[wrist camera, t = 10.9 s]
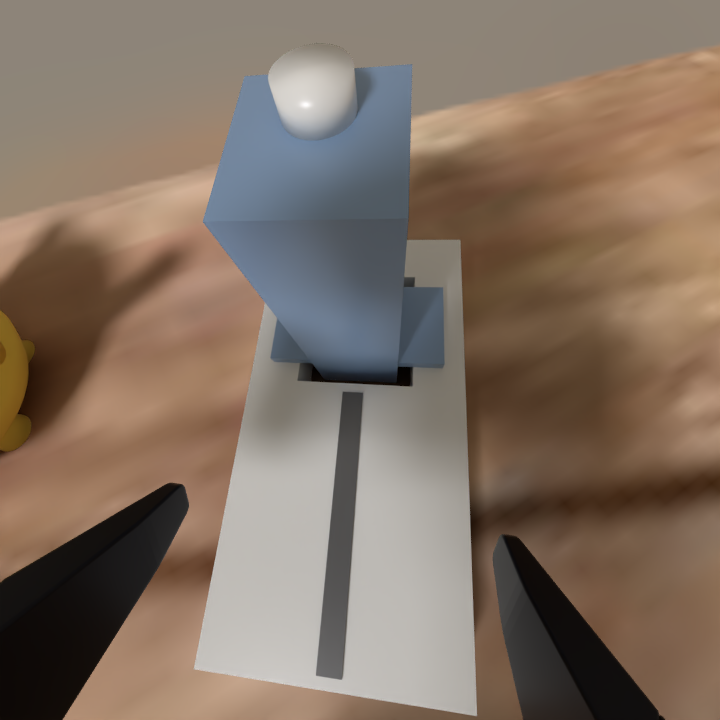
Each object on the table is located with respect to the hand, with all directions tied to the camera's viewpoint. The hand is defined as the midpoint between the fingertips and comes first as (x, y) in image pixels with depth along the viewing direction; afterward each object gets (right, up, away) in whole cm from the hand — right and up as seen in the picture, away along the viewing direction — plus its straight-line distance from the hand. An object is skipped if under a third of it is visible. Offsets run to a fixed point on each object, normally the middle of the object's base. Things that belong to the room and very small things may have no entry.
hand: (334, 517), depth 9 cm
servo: (+1, +5, +10) cm, 11 cm away
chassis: (0, +1, +9) cm, 9 cm away
